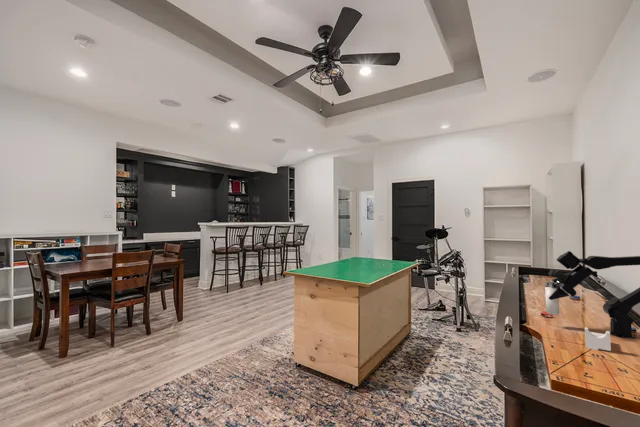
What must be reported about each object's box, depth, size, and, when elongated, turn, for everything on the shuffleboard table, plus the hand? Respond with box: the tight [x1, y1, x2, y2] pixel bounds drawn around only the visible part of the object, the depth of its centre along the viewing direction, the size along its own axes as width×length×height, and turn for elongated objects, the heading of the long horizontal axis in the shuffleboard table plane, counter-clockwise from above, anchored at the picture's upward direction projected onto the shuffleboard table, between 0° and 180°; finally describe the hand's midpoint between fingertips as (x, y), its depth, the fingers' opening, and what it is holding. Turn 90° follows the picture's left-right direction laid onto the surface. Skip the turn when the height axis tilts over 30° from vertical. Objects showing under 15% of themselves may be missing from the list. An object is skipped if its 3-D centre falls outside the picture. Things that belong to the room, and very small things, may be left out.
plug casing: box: [544, 282, 560, 316], centre depth 140 cm, size 5×5×14 cm
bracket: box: [584, 326, 612, 352], centre depth 117 cm, size 13×7×8 cm, turn 138°
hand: (548, 297), depth 141 cm, fingers closed on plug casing, 5 cm apart
